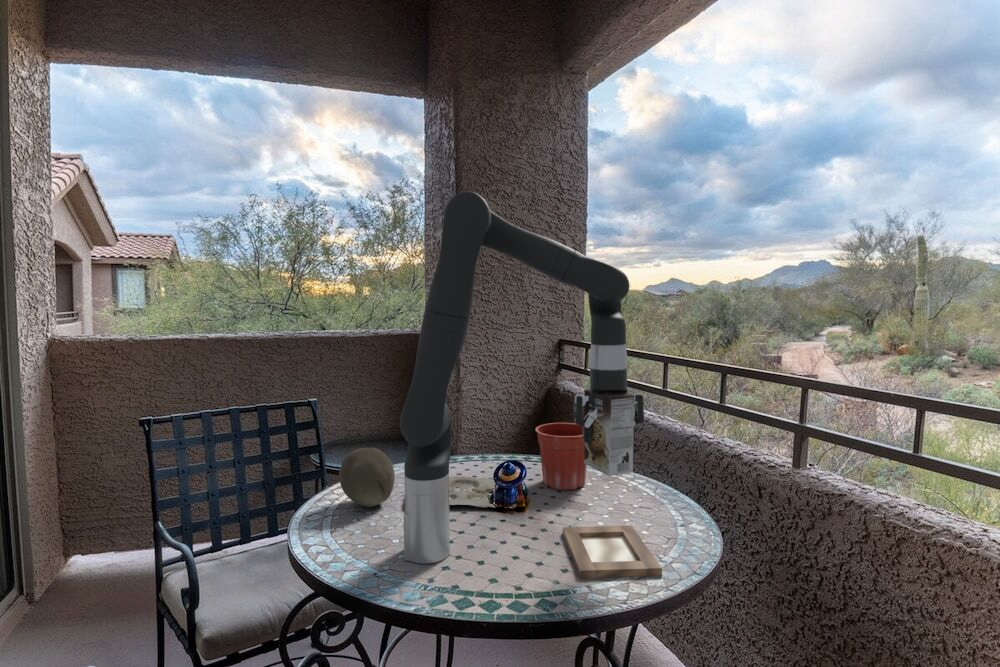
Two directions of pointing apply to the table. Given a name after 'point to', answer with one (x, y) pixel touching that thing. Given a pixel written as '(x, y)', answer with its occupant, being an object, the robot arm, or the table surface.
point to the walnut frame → (610, 552)
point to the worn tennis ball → (367, 476)
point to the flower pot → (562, 455)
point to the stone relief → (465, 497)
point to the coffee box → (611, 433)
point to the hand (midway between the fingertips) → (608, 443)
